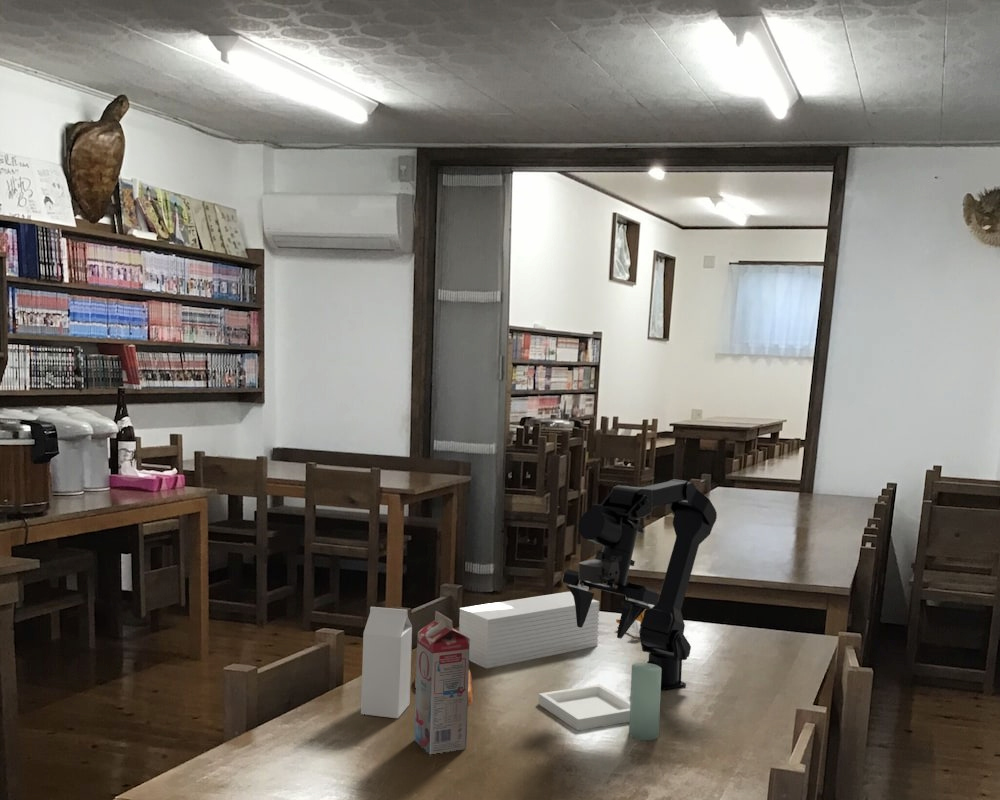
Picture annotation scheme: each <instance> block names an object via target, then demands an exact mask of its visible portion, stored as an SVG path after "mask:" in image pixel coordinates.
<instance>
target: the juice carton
mask: <svg viewBox="0 0 1000 800" xmlns="http://www.w3.org/2000/svg"><path fill="white" fill-rule="evenodd" d="M416 639H417V642H416V643H417V645H416V670H415V671H416V674H415V677H416V689H415V704H414V708H415V709H414V732H413V733H414V738H413V740H414V742H416V743H417V745H419V744H420V745H421V746H422V747H423V748H424V749H425V750H426V751H427V752H428V753H429V754H435V755H437V754H436V753H440V754H444V753H443V752H446V753H450V751H451V752H457V751H461V750H466V749H467V735H468V734H467V733H468V732H467V731H468V730H467V729H468V707H469V706H468V676H469V670H470V667H469V666H470V661H469V646H470V639H469V638H468V637H466V636H465V635H463V634H462V633H460V632H459V630H457V629H455V628H454V627H453V619H450V618H449V617H448V616H445V615H444V614H442V613H440V612H439V611H437V610H435V612H434V620H433V621H432V622H430V623H429V624H427V625H426V626H424V627H422V628H421V629H420V630H419V631H417V638H416ZM420 745H419V746H420ZM421 746H420V747H421ZM422 747H421V748H422ZM423 748H422V749H423ZM424 749H423V750H424ZM425 750H424V751H425ZM456 750H457V751H456ZM426 751H425V752H426ZM427 752H426V753H427ZM428 753H427V754H428ZM429 754H428V755H429Z"/></svg>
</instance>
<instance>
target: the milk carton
mask: <svg viewBox="0 0 1000 800" xmlns="http://www.w3.org/2000/svg"><path fill="white" fill-rule="evenodd" d="M369 610H370V611H369V615H368V618H367V621H366V624H365V628H364V630H363V635H362V636H363V637H362V639H363V640H362V643H363V644H362V665H361V666H362V670H361V674H362V675H361V698H360V699H361V705H360V715H364V714H365V715H364V716H374V717H380V718H381V717H383V718H389V719H390V718H391V719H399V718H400V716H401V715H402V714H403V713H404V711H405V710H406V709H407V708H408V707H409V705H410V700H411V698H410V697H411V676H412V675H411V671H412V670H411V669H412V668H411V666H412V665H411V664H412V643H413V642H412V639H413V636H412V635H413V625H412V623H411V621H410V619H409V616H408V609H402V608H401V609H399V608H389V607H380V606H379V607H378V606H377V607H376V606H370V609H369Z"/></svg>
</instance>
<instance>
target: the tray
mask: <svg viewBox="0 0 1000 800" xmlns="http://www.w3.org/2000/svg"><path fill="white" fill-rule="evenodd" d="M537 703H538V705H539V706H541V707H542V708H544V709H545V710H547V711H548V712H550V713H551V714H552V715H554V716H556V717H557V718H558V719H560V720H561V721H563V722H564V723H565V724H568V726H570V727H572V728H573V729H575V730H576V731H583V730H589V729H595V728H601V727H605V726H611V725H617V724H622V723H629V722H630V700H628V699H627V698H625V697H623V696H621V695H619V694H618V693H616V692H614V691H613V690H612V689H610V688H607V687H606V686H604V685H603V684H600V683H599V684H594V685H593V684H592V685H587V686H580V687H579V686H578V687H573V688H567V689H560V690H554V691H553V690H552V691H547V692H541V693H540V692H539V693H538V702H537Z"/></svg>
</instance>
